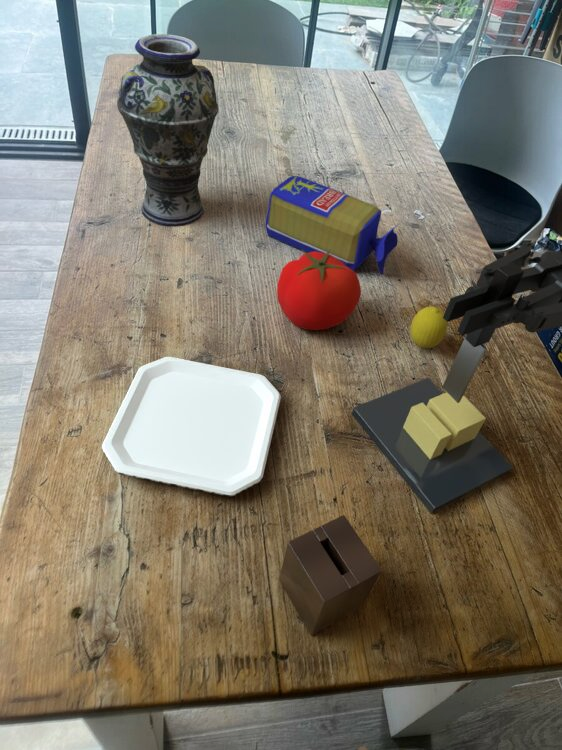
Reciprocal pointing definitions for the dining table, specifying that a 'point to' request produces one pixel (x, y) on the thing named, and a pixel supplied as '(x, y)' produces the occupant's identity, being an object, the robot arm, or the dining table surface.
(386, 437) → the board
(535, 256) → the robot arm
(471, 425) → the butter
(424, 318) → the lemon
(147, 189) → the vase
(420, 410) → the butter slice
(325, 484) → the dining table surface
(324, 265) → the tomato
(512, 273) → the knife
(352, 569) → the knife block
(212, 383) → the plate
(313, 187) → the bread
